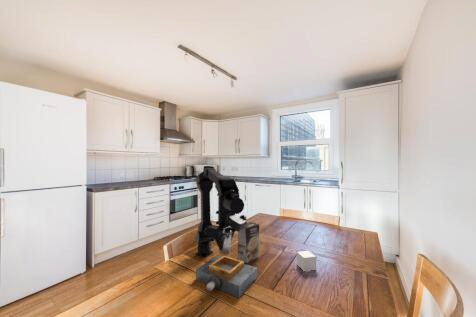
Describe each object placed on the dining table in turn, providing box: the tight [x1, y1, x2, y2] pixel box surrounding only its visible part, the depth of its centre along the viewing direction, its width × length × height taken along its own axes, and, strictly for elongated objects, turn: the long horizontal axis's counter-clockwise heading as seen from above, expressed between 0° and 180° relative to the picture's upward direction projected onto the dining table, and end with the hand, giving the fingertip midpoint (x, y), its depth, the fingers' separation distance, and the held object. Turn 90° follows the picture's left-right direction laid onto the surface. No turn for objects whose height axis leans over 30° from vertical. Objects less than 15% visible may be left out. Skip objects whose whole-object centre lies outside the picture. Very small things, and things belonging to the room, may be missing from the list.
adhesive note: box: [296, 250, 317, 272], centre depth 88 cm, size 6×6×6 cm
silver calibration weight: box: [218, 230, 232, 255], centre depth 79 cm, size 5×6×9 cm
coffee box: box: [236, 221, 260, 264], centre depth 97 cm, size 9×6×16 cm
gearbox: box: [195, 255, 258, 298], centre depth 77 cm, size 18×20×6 cm
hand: (225, 247), depth 79 cm, fingers closed on silver calibration weight, 5 cm apart
